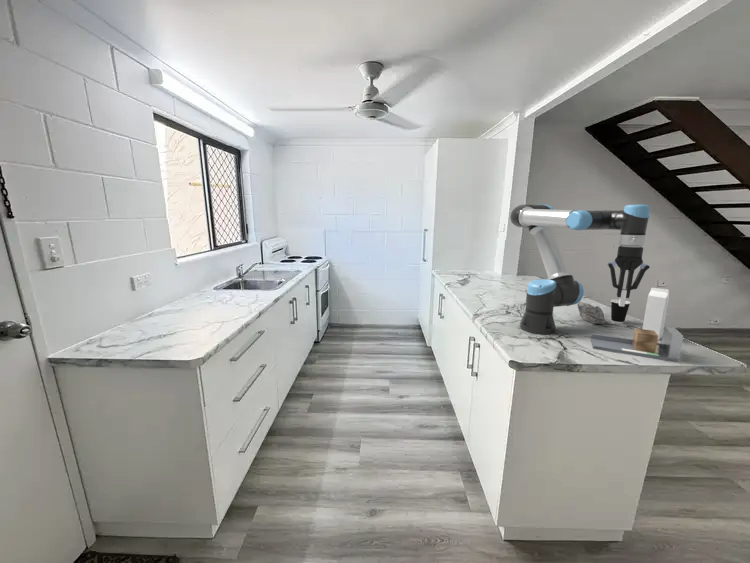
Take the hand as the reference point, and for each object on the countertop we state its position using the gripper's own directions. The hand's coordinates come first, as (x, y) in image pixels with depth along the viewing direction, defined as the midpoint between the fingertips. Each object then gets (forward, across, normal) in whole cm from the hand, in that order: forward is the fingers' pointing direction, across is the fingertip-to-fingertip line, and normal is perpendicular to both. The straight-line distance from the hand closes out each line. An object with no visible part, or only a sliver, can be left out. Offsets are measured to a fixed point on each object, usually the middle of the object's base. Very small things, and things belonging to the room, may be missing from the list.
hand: (621, 305), depth 125 cm
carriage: (+16, +9, -1) cm, 19 cm away
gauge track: (+18, +5, 0) cm, 19 cm away
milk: (+18, +16, +23) cm, 33 cm away
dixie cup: (+18, +6, +40) cm, 44 cm away
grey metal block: (+17, +17, 0) cm, 24 cm away
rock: (+18, -6, +36) cm, 41 cm away
